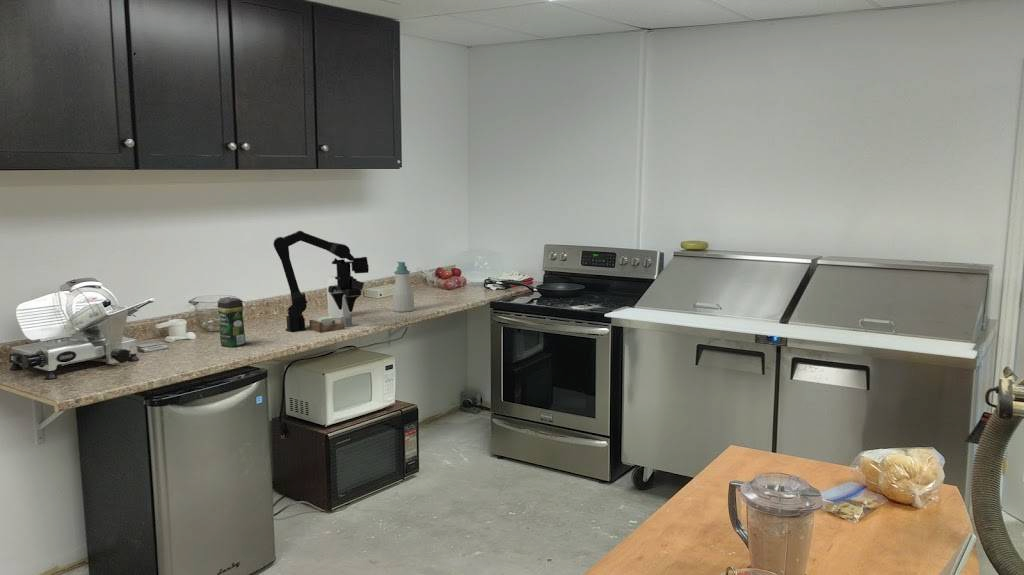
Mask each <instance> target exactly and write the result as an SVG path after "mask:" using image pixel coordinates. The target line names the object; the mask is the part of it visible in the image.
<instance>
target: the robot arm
mask: <svg viewBox="0 0 1024 575" xmlns="http://www.w3.org/2000/svg"><path fill="white" fill-rule="evenodd" d="M298 242H304V243H306V244H309V245H312V246H313V247H314V246H315V247H317V248H320V249H322V250H326V251H327V252H329V253H331V254H333V255H334V256H336V257H337V258H336V257H335V258H334V260H333V261H332V262H331V264H332V265H336V276H337V277H335V279H337V285H333V286H330V287H329V288H328V292H329V293H330V295H331V296H332V297H333V299H334V301H335V303H336V304H337V306H338V308H339V310H341V309H342V299H343V295H344V294H345V296H344V297H345V300H346V303H347V306H348V309H349V313H352V312H353V309H354V306H355V303H356V300H357V299H358V298H360V296H362V291H363V288H364V286H365V282H363V281H360V280H357V278H355V277H354V276H353V275H352V272H354V274H368V273H369V269H370V268H369V264H368V263H369V261H368V257H367V256H362V257H361V256H360V257H354V255H352V254H351V249H350V247H349V246H348V245H346V244H344V243H339V242H334V241H333V242H331V241H329V240H325V239H323V238H320V237H318V236H315V235H312V234H309V233H308V232H307V233H306V232H304V231H302V230H297V231H295V232H294V233H291V234H287V235H286V236H278V237H275V239H274V240H273V248H274V249H275V252H276V253H277V254H276V255H278V258H279V259H280V261H281V265H282V268H283V271H284V274H285V278H286V280H287V284H288V288H289V291H290V300H291V305H290V306H289V307H288V308H287V309H286V311H287V315H286V316H285V317H286V328H285V331H288V332H290V333H293V332H300V331H305V330H307V328H306V318H305V317H304V314H303V312H305V311H306V309H307V307H308V306H307V304H308V300H307V299H306V293H305V292H304V291H303V292H301V290H300V288H299V284H298V282H297V278H296V275H295V271H294V269H293V264H292V262H291V258H290V248H289V247H290V246H292V245H294V244H296V243H298ZM338 258H340V259H338ZM345 259H347V260H348V261H346V260H345Z"/></svg>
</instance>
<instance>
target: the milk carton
mask: <svg viewBox="0 0 1024 575" xmlns="http://www.w3.org/2000/svg"><path fill="white" fill-rule="evenodd" d="M335 277H337V275H329V278H328V281H327V283H326V297H327V298H326V299H327V313H328V314H327V315H328V316H327V317H330V318H332V319H341V317H345V316H349V317H350V312H349V309H348V306H347V303H346V300H345V297H344V296H345V294H344V295H343V299H342V309H341V310H339V308H338V306H337V304H336V303H335V301H334V299H333V297H332V296H331V295H330V293H329V292H328V288H329V287H330V286H333V285H337V279H335Z"/></svg>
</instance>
